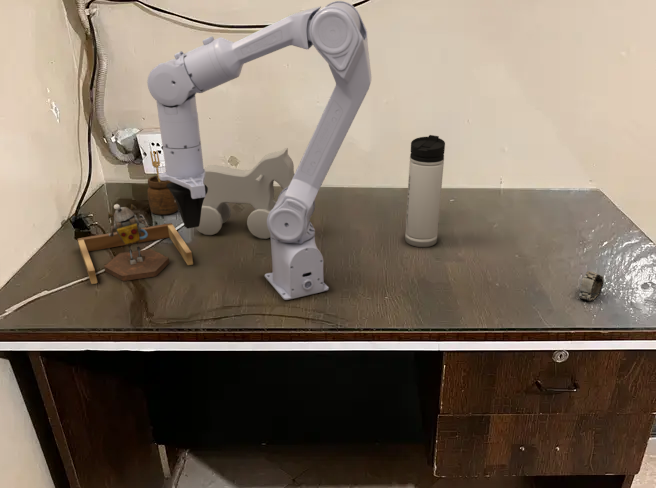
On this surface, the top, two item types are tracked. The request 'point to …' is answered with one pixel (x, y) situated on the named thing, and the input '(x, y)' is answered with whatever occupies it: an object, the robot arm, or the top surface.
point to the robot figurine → (132, 261)
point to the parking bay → (114, 241)
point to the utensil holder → (160, 193)
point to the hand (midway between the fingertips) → (191, 226)
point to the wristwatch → (591, 286)
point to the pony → (244, 192)
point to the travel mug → (424, 190)
